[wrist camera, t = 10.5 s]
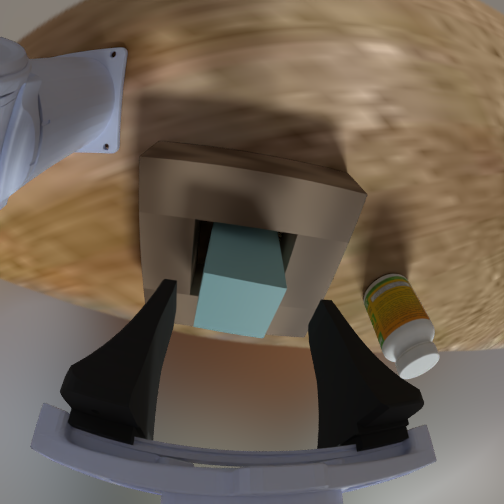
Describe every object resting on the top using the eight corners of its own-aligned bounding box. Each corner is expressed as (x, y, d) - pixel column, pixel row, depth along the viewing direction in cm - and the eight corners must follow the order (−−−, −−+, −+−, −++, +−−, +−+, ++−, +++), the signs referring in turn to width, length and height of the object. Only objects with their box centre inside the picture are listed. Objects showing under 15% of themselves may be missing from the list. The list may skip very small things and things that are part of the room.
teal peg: (206, 253, 24) (193, 326, 17) (217, 205, 21) (203, 272, 15) (258, 264, 24) (263, 338, 18) (275, 218, 22) (287, 288, 15)
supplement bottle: (353, 292, 27) (383, 374, 19) (397, 262, 25) (441, 339, 17) (374, 316, 29) (401, 388, 21) (413, 290, 27) (450, 359, 19)
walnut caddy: (157, 288, 26) (147, 318, 23) (158, 141, 18) (139, 156, 15) (298, 305, 28) (304, 337, 24) (347, 172, 20) (367, 194, 16)
